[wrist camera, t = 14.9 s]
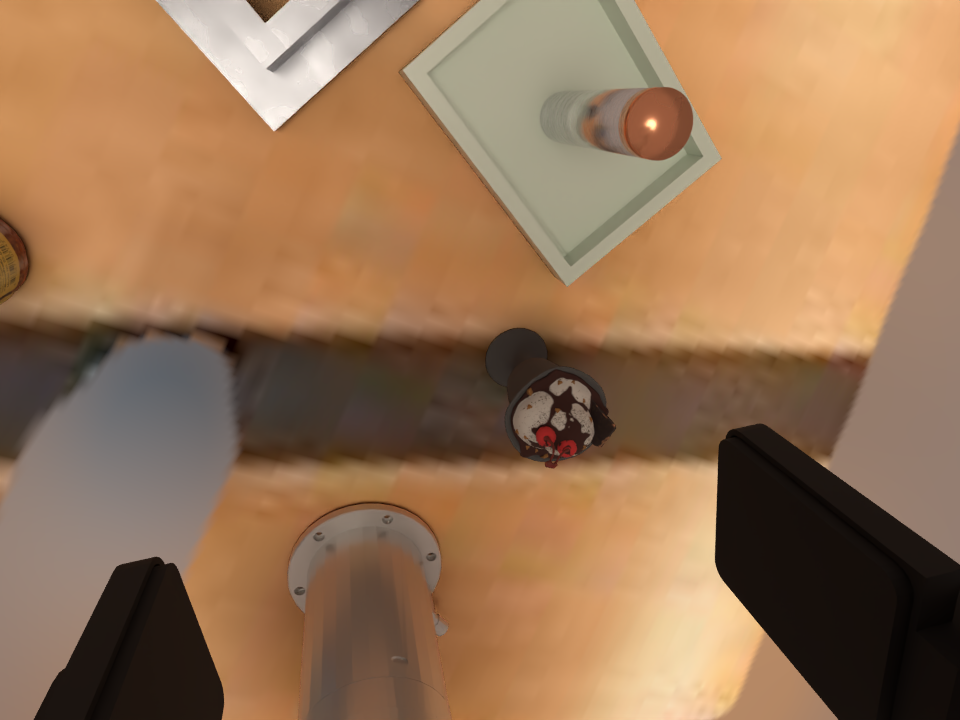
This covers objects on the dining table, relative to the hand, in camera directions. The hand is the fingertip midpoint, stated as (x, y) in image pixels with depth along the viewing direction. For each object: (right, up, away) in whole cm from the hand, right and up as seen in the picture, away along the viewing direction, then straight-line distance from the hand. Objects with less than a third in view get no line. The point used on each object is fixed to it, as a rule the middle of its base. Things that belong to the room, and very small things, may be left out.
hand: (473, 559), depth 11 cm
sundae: (+3, +4, +38) cm, 38 cm away
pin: (+6, +20, +31) cm, 37 cm away
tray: (+6, +20, +32) cm, 38 cm away
